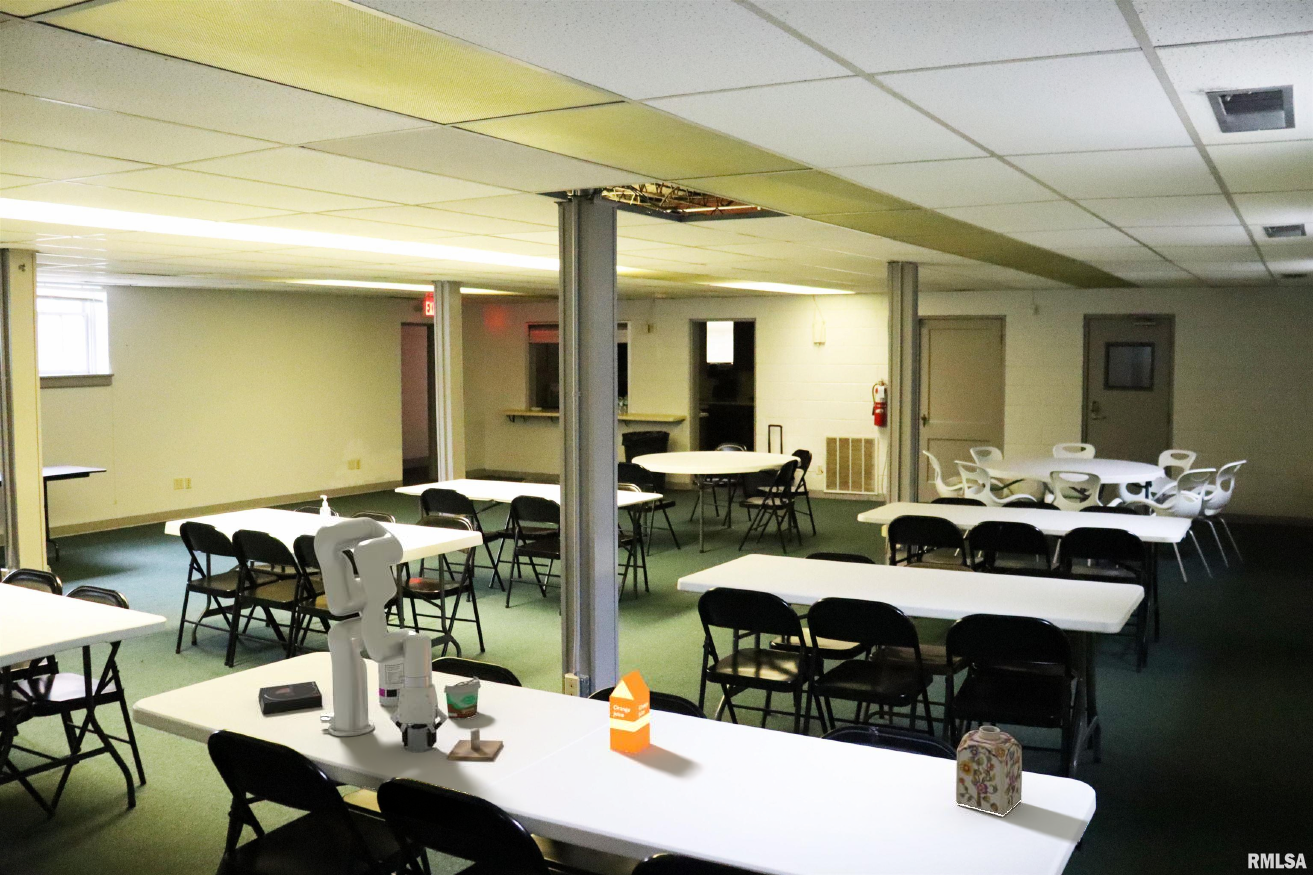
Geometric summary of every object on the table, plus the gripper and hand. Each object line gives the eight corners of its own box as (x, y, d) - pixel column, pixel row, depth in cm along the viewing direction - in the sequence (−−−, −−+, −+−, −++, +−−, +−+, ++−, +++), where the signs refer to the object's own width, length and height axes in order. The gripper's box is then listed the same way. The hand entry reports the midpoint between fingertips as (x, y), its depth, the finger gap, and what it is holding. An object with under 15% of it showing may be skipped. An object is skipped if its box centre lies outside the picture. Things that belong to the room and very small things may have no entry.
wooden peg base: (447, 759, 279) (446, 737, 279) (459, 743, 291) (459, 721, 291) (492, 760, 278) (491, 738, 278) (502, 744, 290) (502, 722, 290)
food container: (458, 723, 307) (458, 689, 307) (444, 719, 311) (443, 685, 310) (489, 711, 317) (489, 679, 317) (475, 708, 321) (475, 675, 320)
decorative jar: (974, 789, 257) (975, 716, 255) (1022, 802, 249) (1023, 727, 248) (954, 805, 248) (955, 730, 246) (1003, 819, 240) (1004, 741, 239)
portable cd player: (258, 700, 331) (257, 688, 331) (315, 693, 338) (315, 681, 338) (262, 716, 316) (262, 703, 316) (322, 708, 323) (321, 695, 323)
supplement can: (374, 706, 324) (372, 657, 323) (388, 697, 332) (387, 650, 330) (397, 708, 321) (396, 659, 320) (411, 700, 329) (410, 652, 328)
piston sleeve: (404, 751, 285) (403, 729, 285) (411, 743, 291) (411, 721, 291) (427, 752, 284) (427, 730, 284) (434, 743, 291) (434, 722, 290)
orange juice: (609, 749, 286) (608, 676, 284) (625, 738, 294) (624, 667, 292) (635, 753, 282) (634, 680, 281) (650, 743, 290) (650, 671, 289)
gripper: (381, 684, 284) (383, 749, 285) (445, 685, 282) (446, 751, 283) (391, 675, 291) (393, 739, 292) (453, 676, 290) (454, 741, 291)
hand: (419, 744), depth 288 cm, fingers closed on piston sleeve, 6 cm apart
